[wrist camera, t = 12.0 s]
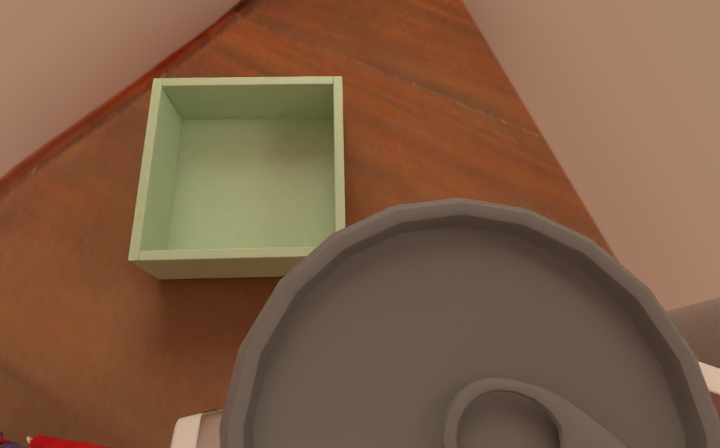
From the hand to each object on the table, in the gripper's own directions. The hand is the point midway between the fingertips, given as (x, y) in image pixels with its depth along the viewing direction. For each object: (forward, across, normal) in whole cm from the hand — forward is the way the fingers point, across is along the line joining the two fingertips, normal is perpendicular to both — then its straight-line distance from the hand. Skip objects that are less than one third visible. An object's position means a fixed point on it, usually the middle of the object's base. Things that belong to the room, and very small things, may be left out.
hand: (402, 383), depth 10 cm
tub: (+24, +4, +4) cm, 25 cm away
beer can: (+4, 0, +5) cm, 7 cm away
